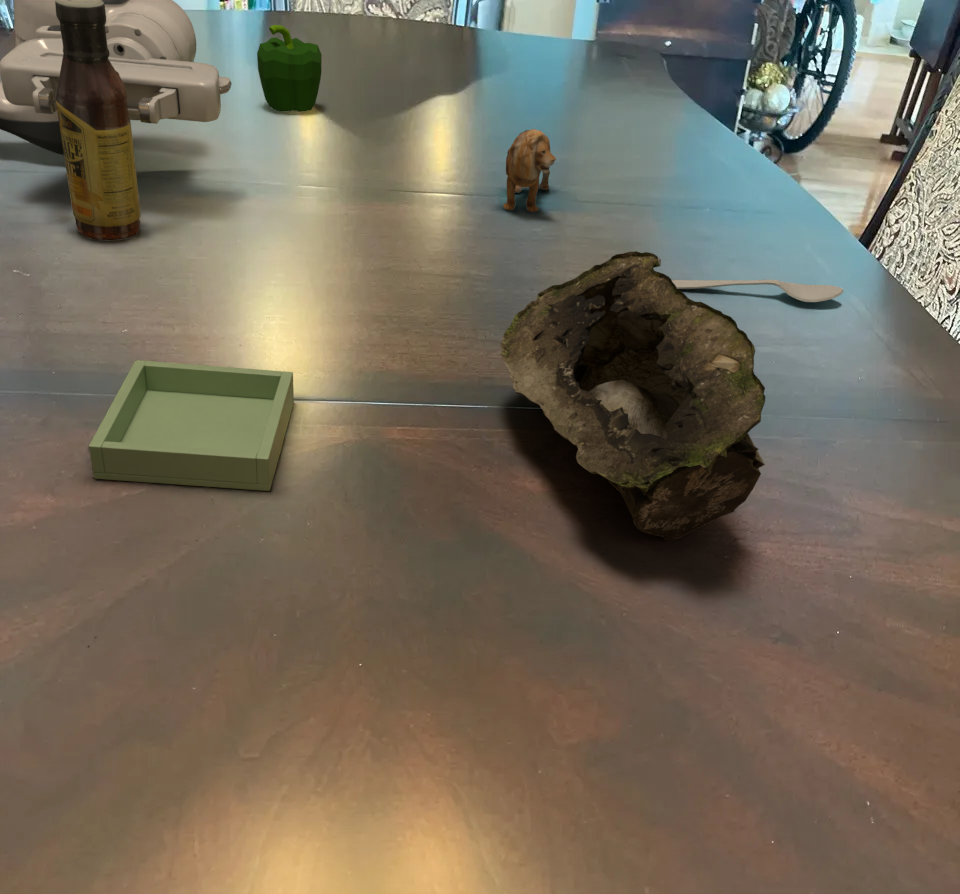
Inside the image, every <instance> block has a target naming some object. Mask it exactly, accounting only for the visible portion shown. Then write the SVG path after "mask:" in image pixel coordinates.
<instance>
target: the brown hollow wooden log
mask: <svg viewBox="0 0 960 894" xmlns="http://www.w3.org/2000/svg"><path fill="white" fill-rule="evenodd" d="M661 263H662V259H661V258H660V257H659V256H657V254H654V253H652V252H648V251H645V252H639V251H637V250H636V251H627V252H624V253H617V254H614V255H612V256H611V257H610V259H607V260H606V261H604V262H602V263H600V264H595V265H593V266H592V267H590V268H589V269H588V270H585V271H582V273H579V275H577V276H576V277H575V278H573V279H569V280H567V281H565V282H563V283H561V284H554V285H551V286H549V287H547V288H546V289H543V290H541V291H540V292H539V293H537V295H536V299H535V300H531V301H530V302H529V303H528V304H527V305H526V306H525V307H524V309H522V310H520V311H519V312H517V313H516V314H515V316H514V317H513V319H512V320H511V323H510V325H509V327H508V328H506V330H505V332H504V333H503V336H502V339H501V343H500V349H501V352H500V355H501V357H502V361H503V363H504V364H505V366H506V368H507V369H508V373H509V378H510V379H511V381H512V382H513V383H512V388H513V390H514V392H515V395H519V394H520V395H521V394H522V395H523V396H525V398H527V399H528V400H529V401H530V402H531V403H534V404H537V405H539V407H540V408H541V409H542V412H543V414H544V416H545V418H547V419H548V420H549V421H550V423H551V424H552V426H553V429H554V431H555V432H556V433H558V435H560V436H561V437H562V438H564V439H565V440H566V441H569V442H570V443H571V444H572V445H574V446H576V447H577V449H578V450H577V451H576V453H575V454H576V455H575V458H576V462H577V464H579V466H580V467H582V468H583V469H585V470H586V471H588V472H589V473H590V474H592V475H600V476H601V477H603V478H605V479H606V480H608V483H609V484H610V485H611V486H612V487H613V488H615V489H616V490H617V491H618V492H619V493H620V494H621V496H622V499H623V500H624V503H625V505H626V507H627V509H628V511H629V513H630V515H631V518H632V521H633V524H634V527H636V530H638V531H641V532H642V533H646V534H649V535H653V536H656V537H662V538H663V540H664V541H672V540H677V539H680V538H682V537H684V536H687V535H688V534H690V533H692V532H694V531H696V530H698V529H700V528H702V527H704V526H706V525H708V524H709V523H711V522H713V521H716V520H717V519H719V518H721V517H723V516H726V515H729V514H732V513H734V512H735V510H736V509H737V508H739V507H740V506H741V505H742V504H743V503H744V502H746V501H747V499H748V497H749V496H750V495H751V494H752V491H753V490H754V488H755V486H756V484H757V482H758V481H759V479H760V478H761V475H762V472H761V470H760V468H762V467H764V466H765V465H766V464H765V462H764V460H763V458H762V457H761V455H760V453H759V451H758V450H759V448H758V447H756V445H755V443H754V442H753V439H752V438H751V436H750V434H749V432H750V431H751V430H753V428H755V427H756V426H758V425H759V424H760V423H761V421H762V412H763V409H764V406H765V403H766V395H765V390H766V387H765V386H764V384H763V383H762V381H761V380H760V378H759V377H758V376H757V375H756V374H755V372H754V368H755V353H756V348H755V345H754V343H753V342H752V341H751V340H750V338H749V337H748V335H747V333H746V332H745V331H743V330H741V329H740V328H739V327H738V324H737V322H736V320H735V319H733V317H731V316H730V315H727V314H725V313H723V312H722V311H721V310H719V309H716V308H714V307H712V306H710V305H708V304H706V303H704V302H703V301H696V300H693V299H690V298H689V297H688V296H687V295H686V294H685V292H683V291H682V289H677V288H676V286H675V284H674V283H673V282H672V280H673V279H672V278H671V277H670V276H669V275H667V274H665V273H662V272H660V271H656V270H655V268H659V267H661Z"/></svg>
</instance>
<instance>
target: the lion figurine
mask: <svg viewBox="0 0 960 894" xmlns="http://www.w3.org/2000/svg"><path fill="white" fill-rule="evenodd" d="M550 142H551V141H550V139H549V137H548V136H547V135H546V134H545V133H544V132H543V131H542V130H537V129H536V128H532V129H525V130H524V131H523V132H520V133H519V134H518V135H517V136H516V137H515V139H514V140H513V142H512V144H511V146H510V147H509V148H508V150H507V153H506V154H507V155H506V158H505V174H506V175H507V177H506V202H505V203H504V204H503V206H502V208H503V209H504V210H506V211H514V209H515V206H516V196H515V195H516V194H520V193H521V192H522V191H523V189H525V188H528V195H527V198H526V201H525V206H526V211H528V212H530V213H536V212H539V207H538V206H537V205H536V199H537V194H538V191H539V189H540V190H542V191H548V190H549V188H550V185H549V177H550V174H551V171H550V167H552V166H553V165H554V164H555V162H556V161H557V158H556V156H554V155H553V153H551V144H550ZM541 172H542V178H541V181H540V175H541Z"/></svg>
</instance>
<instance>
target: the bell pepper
mask: <svg viewBox="0 0 960 894" xmlns="http://www.w3.org/2000/svg"><path fill="white" fill-rule="evenodd" d="M268 29H269V32H270V33H271V35H272V36H274V35H276V34H278V33H279V34H280V35H282V39H283V40H282V39H280V38H278V37H270V38H269V39H268V40H267V41H266V42H261V43H260V44H259V46H258V49H257V53H256V56H257V57H256V58H257V71H258V72H257V73H258V75H259V81H260V84H261V89H262V92H263V97H264V100H265V101H266V103H267V105H268V107H269V108H271V109H272V110H273V111H276V112H277V111H278V112H282V113H283V112H292V111H294V112H300V113H302V112H303V113H304V112H310V111H312V110H313V108H314V107H315V105H316V103H317V102H316V101H317V98H318V94H319V88H320V85H321V84H320V83H321V80H322V79H321V78H322V62H323V61H322V57H323V55H322V52H321V49H320V47H319V44H316V43H312V42H304V41H302V40H301V39H299V38H297V37H294V38H292V36H291V33H290V30H289V29H288V28H286V27H285V26H284V25H281V24H273V25H271V26H269V27H268Z"/></svg>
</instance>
